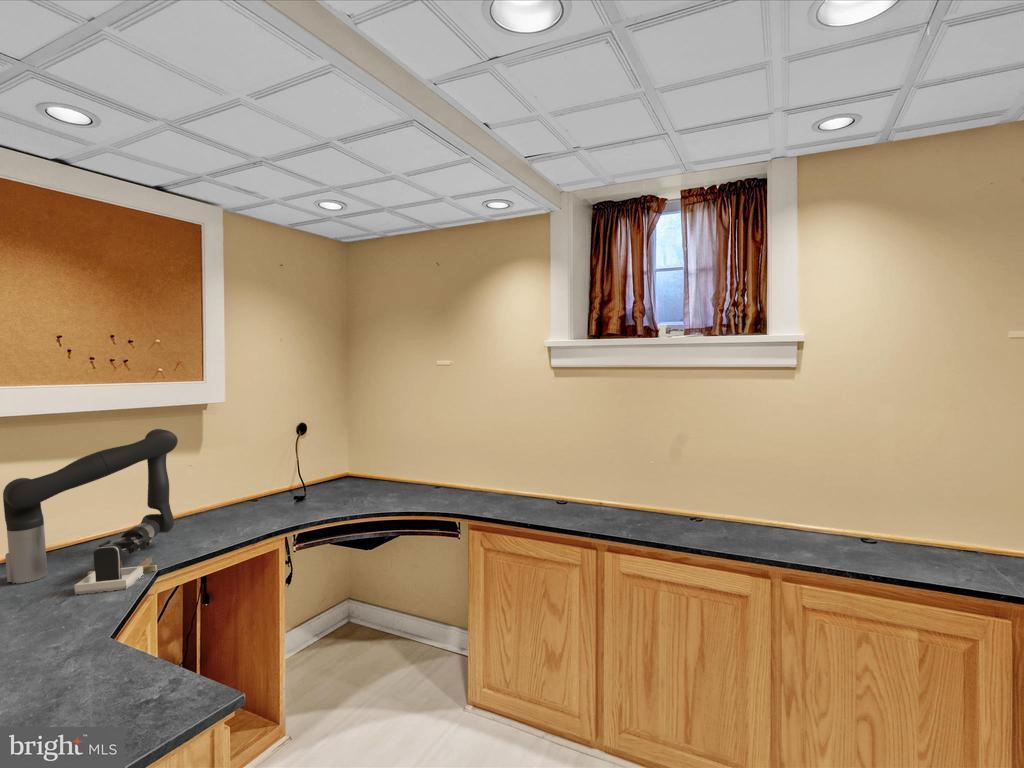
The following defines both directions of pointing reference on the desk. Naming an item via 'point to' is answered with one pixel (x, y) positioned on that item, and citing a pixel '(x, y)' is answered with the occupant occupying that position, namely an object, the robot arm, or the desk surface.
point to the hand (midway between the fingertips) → (115, 552)
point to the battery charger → (107, 563)
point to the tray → (92, 586)
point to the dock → (144, 564)
